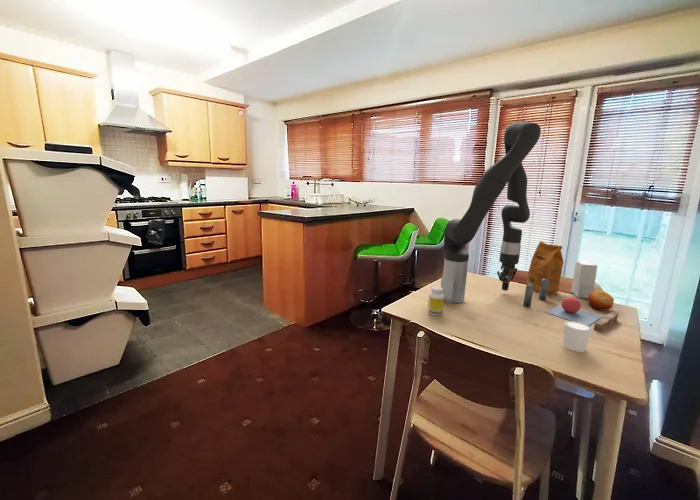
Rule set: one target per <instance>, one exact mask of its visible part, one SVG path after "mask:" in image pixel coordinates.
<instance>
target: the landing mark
mask: <svg viewBox="0 0 700 500" xmlns="http://www.w3.org/2000/svg"><path fill="white" fill-rule="evenodd" d="M544 312H545V314H548V315H551V316H555V317H557V318H561V319H564V320H566V321H574V322H579V323H583V324H585V325H587V326H589V327H590V326H591V325H592V324H595V322H597V321H598V320H600V319H601V318H603V316H601V315H599V314H595V313H593V312H588V311H584V310H583V309H580V310H579V311H578V312H576V313H568V312H566V311H565V310H564V309H563V308H562V303H561V304H559V305H556V306H554V307H553V308H550V309H548V310H546V311H544Z"/></svg>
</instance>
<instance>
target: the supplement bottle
mask: <svg viewBox="0 0 700 500" xmlns="http://www.w3.org/2000/svg"><path fill="white" fill-rule="evenodd" d="M430 291H431V292H429V293H428V301H427V303H428V304H427V313H428V314H429V313H430V314H429V315H432V316H441V315H442V314H443V311H444V310H443V309H444V302H445V301H444V295H443V294H442V292H443V288H441V286H431V289H430Z"/></svg>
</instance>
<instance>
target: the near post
mask: <svg viewBox="0 0 700 500" xmlns="http://www.w3.org/2000/svg"><path fill="white" fill-rule="evenodd" d="M533 289H534V285H533V284H527V283H526V285H525V293H524V298H523V304H522V306H523V307H525V308H531V306H532V302H533V301H532V300H533V295H534V294H533V293H534V290H533Z"/></svg>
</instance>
